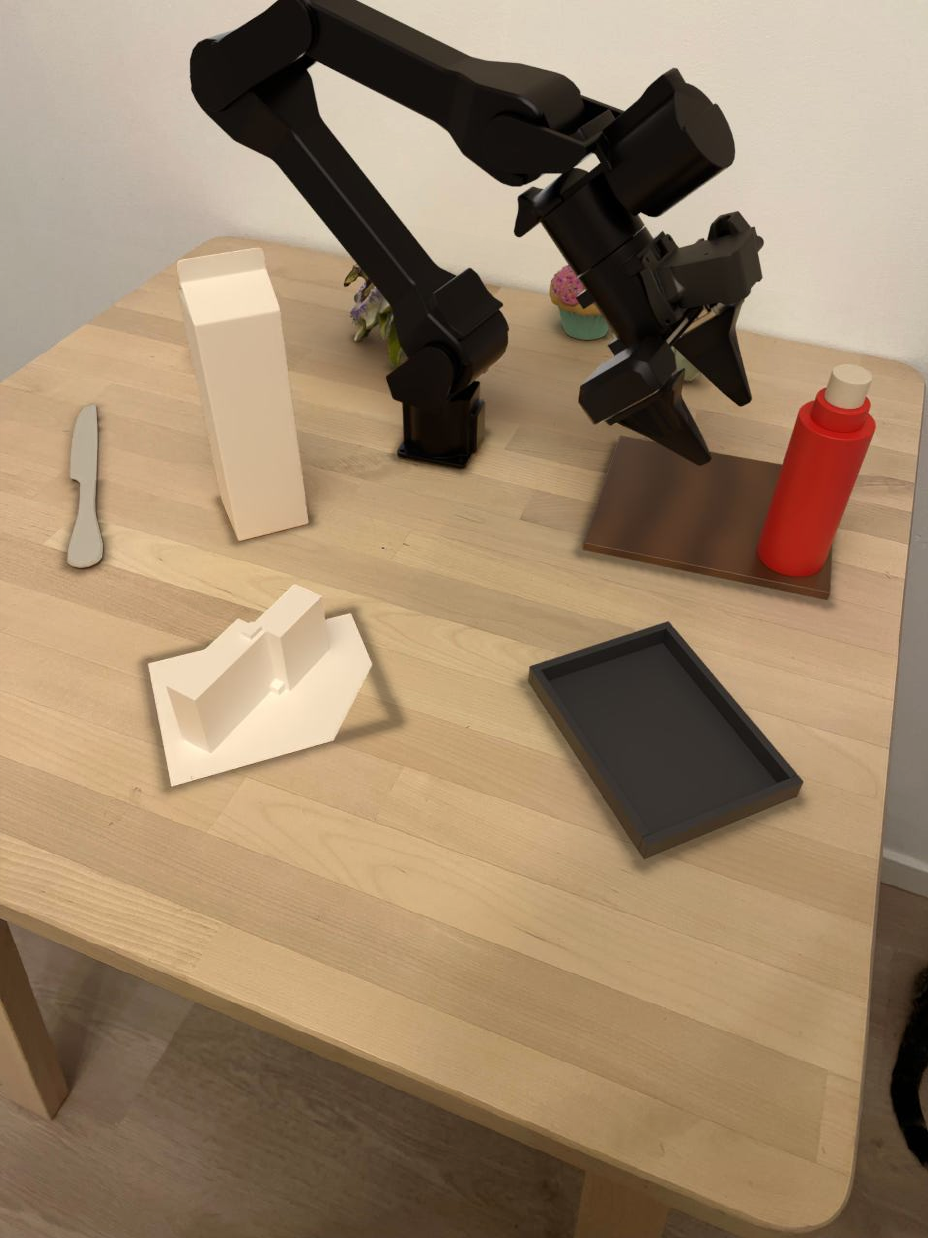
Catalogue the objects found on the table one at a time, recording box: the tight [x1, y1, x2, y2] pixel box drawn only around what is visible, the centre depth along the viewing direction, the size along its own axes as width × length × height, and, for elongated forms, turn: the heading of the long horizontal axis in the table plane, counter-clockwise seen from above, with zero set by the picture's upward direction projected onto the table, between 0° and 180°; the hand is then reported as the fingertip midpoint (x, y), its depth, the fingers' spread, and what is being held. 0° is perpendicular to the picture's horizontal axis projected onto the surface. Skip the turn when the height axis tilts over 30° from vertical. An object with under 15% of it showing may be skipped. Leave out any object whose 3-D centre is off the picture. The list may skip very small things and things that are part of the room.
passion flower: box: [343, 263, 405, 368], centre depth 97 cm, size 11×11×12 cm
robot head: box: [671, 346, 702, 382], centre depth 92 cm, size 8×4×7 cm, turn 16°
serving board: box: [582, 435, 833, 601], centre depth 78 cm, size 19×16×1 cm
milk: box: [176, 247, 310, 542], centre depth 70 cm, size 6×6×22 cm
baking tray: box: [527, 620, 804, 860], centre depth 61 cm, size 15×11×2 cm
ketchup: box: [757, 363, 877, 577], centre depth 68 cm, size 5×5×16 cm
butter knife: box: [66, 403, 104, 569], centre depth 81 cm, size 1×24×3 cm
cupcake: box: [548, 264, 610, 341], centre depth 98 cm, size 9×8×12 cm
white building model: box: [147, 583, 374, 787], centre depth 62 cm, size 15×11×6 cm
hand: (727, 432), depth 70 cm, fingers open, 9 cm apart
